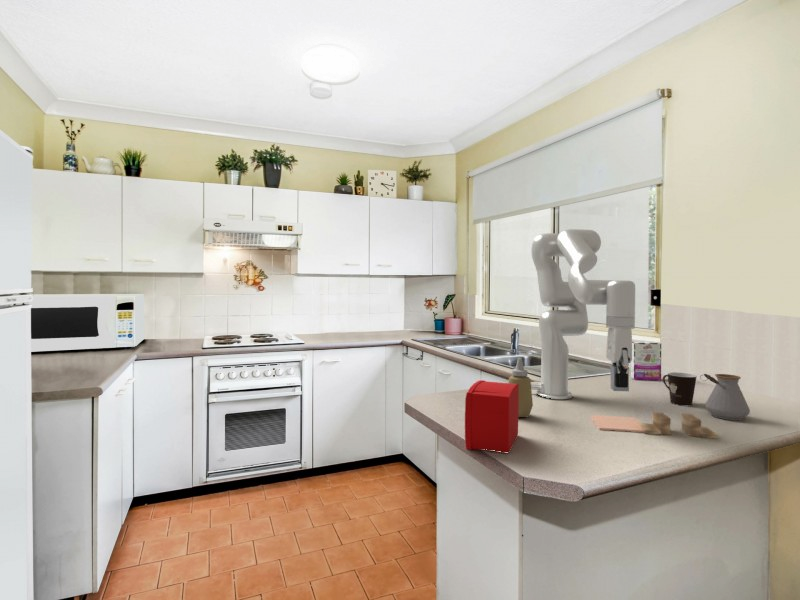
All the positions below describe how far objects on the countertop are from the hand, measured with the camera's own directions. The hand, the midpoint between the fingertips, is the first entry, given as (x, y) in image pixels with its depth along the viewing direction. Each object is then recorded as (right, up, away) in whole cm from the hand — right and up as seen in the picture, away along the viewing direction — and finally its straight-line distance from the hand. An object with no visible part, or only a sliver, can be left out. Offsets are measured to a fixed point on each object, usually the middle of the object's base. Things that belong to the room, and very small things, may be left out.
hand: (619, 384), depth 134 cm
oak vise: (+13, -12, -6) cm, 19 cm away
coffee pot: (+34, -12, +7) cm, 37 cm away
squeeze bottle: (-27, -11, +9) cm, 31 cm away
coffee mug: (+34, -11, +27) cm, 45 cm away
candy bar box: (+43, -10, +67) cm, 80 cm away
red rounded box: (-40, -12, -15) cm, 44 cm away
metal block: (0, -1, 0) cm, 1 cm away
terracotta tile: (0, -12, +1) cm, 12 cm away
